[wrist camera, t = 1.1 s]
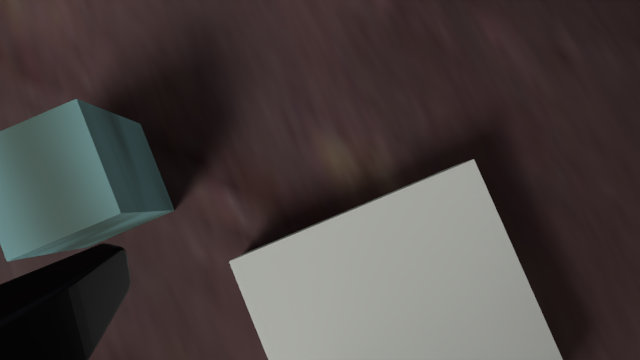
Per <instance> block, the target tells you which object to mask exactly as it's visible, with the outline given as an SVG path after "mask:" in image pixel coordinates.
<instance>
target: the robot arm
mask: <svg viewBox="0 0 640 360" xmlns="http://www.w3.org/2000/svg"><path fill="white" fill-rule="evenodd" d="M130 284H131V277H130V271H129V265H128V259H127V253H126V251H125V249H124V248H122V247H120V246H115V245H111V244H106V243H103V244H99V245H97V246H94V247H92V248H89V249H87V250H84V251H82V252H79V253H77V254H75V255H72V256H70V257H67V258H65V259H62V260H60V261H57V262H55V263H52V264H50V265H47V266H45V267H42V268H40V269H37V270H35V271H32V272H30V273H28V274H25V275H23V276H20V277H18V278H15V279H13V280H10V281H8V282H5V283H3V284H0V360H88V359H89V358H90V356H91V354H92V353H93V351H94V350H95V348H96V346H97V344H98V343H99V341H100V339H101V338H102V336H103V334H104V332H105V331H106V329H107V327H108V325H109V324H110V322H111V320H112V319H113V317H114V315H115V313H116V312H117V310H118V308H119V307H120V305H121V303H122V301H123V300H124V298H125V296H126V294H127V293H128V290H129V288H130Z"/></svg>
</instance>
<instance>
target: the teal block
mask: <svg viewBox="0 0 640 360" xmlns="http://www.w3.org/2000/svg"><path fill="white" fill-rule="evenodd" d="M172 211H174V208H173V205H172V202H171V200H170V197H169V195H168V192H167V190H166V187H165V185H164V182H163V180H162V177H161V175H160V172H159V170H158V167H157V165H156V162H155V160H154V157H153V154H152V152H151V149H150V147H149V144H148V142H147V139H146V137H145V134H144V132H143V129H142V127H141V124H140V123H137V122H135V121H132V120H129V119H127V118H124V117H122V116H119V115H117V114H114V113H112V112H109V111H106V110H104V109H101V108H99V107H96V106H94V105H91V104H89V103H86V102H83V101H81V100H78V99H75V100H72V101H70V102H68V103H65V104H63V105H61V106H58V107H56V108H54V109H52V110H49V111H47V112H45V113H42V114H40V115H38V116H35V117H33V118H31V119H28V120H26V121H24V122H21V123H19V124H17V125H14V126H12V127H10V128H7V129H5V130H3V131H0V244H1V247H2V250H3V252H4V255H5V258H6V260H7V261H12V260H18V259H23V258H29V257H34V256H40V255H45V254H51V253H57V252H62V251H68V250H73V249H79V248H85V247H89V246H91V245H94V244H96V243H99V242H101V241H103V240H106V239H108V238H110V237H113V236H115V235H118V234H120V233H122V232H125V231H127V230H129V229H132V228H134V227H136V226H139V225H141V224H144V223H146V222H148V221H151V220H153V219H155V218H158V217H160V216H163V215H165V214H167V213H170V212H172Z"/></svg>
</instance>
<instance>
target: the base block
mask: <svg viewBox="0 0 640 360" xmlns="http://www.w3.org/2000/svg"><path fill="white" fill-rule="evenodd" d="M229 263H230V265H231V268H232V270H233V273H234V275H235V278H236V280H237V283H238V285H239V288H240V290H241V293H242V295H243V298H244V300H245V303H246V305H247V308H248V310H249V313H250V315H251V318H252V320H253V323H254V325H255V328H256V330H257V333H258V335H259V338H260V340H261V343H262V345H263V348H264V350H265V353H266V355H267V358H268V360H563V359H562V357H561V354H560V352H559V350H558V348H557V345H556V343H555V341H554V339H553V336H552V334H551V332H550V330H549V327H548V325H547V323H546V321H545V318H544V316H543V314H542V312H541V309H540V307H539V305H538V303H537V300H536V298H535V296H534V293H533V291H532V289H531V287H530V284H529V282H528V280H527V278H526V275H525V273H524V271H523V269H522V266H521V264H520V262H519V260H518V257H517V255H516V253H515V251H514V248H513V246H512V244H511V241H510V239H509V237H508V235H507V232H506V230H505V228H504V226H503V223H502V221H501V219H500V217H499V214H498V212H497V210H496V208H495V205H494V203H493V201H492V199H491V196H490V194H489V192H488V190H487V187H486V185H485V183H484V180H483V178H482V176H481V174H480V171H479V169H478V167H477V165H476V162H475V160H474V159H473V160H470V161H466V162H463V163H460V164H457V165H455V166H452V167H450V168H448V169H445V170H443V171H440V172H438V173H436V174H433V175H431V176H428V177H426V178H424V179H421V180H419V181H416V182H414V183H412V184H409V185H407V186H404V187H402V188H400V189H397V190H395V191H393V192H390V193H388V194H385V195H383V196H381V197H378V198H376V199H373V200H371V201H369V202H366V203H364V204H361V205H359V206H357V207H354V208H352V209H350V210H347V211H345V212H342V213H340V214H338V215H335V216H333V217H330V218H328V219H326V220H323V221H321V222H318V223H316V224H314V225H311V226H309V227H306V228H304V229H302V230H299V231H297V232H295V233H292V234H290V235H287V236H285V237H283V238H280V239H278V240H275V241H273V242H271V243H268V244H266V245H263V246H261V247H259V248H256V249H254V250H251V251H249V252H247V253H244V254H242V255H240V256H238V257H237V258H235V259H233V260H231V261H229Z"/></svg>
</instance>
